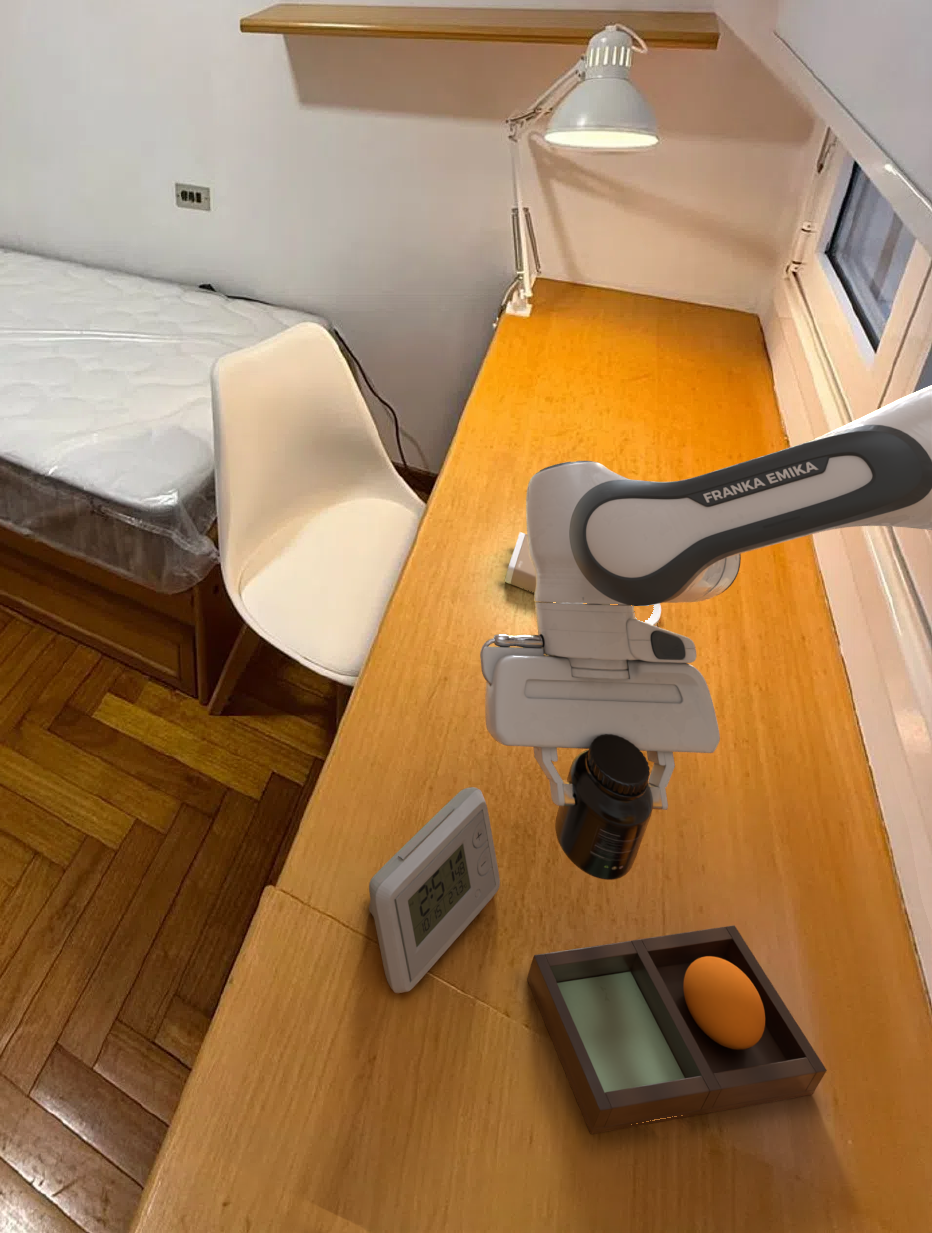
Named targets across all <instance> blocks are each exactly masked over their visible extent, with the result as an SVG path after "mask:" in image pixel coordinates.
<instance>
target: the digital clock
mask: <svg viewBox="0 0 932 1233" xmlns="http://www.w3.org/2000/svg"><path fill="white" fill-rule="evenodd" d="M483 794H484V793H483V792H482V790H481V789H479V788H478V787H474V786H471V787H470V786H469V787H466V788H463V789H461V790H460V791H459V792H457V794H455V795H454V796H453V797H452V798H451V799H450V800H449V801H448V802H447V803H446V804H445V805H444V806H443V807H442V808H441V809H439V811H438V812H437V813H436V814H434V816H432V818H431V819H430V820H429V821H427V822H426V823H425V824H424V825H423V826H422V828H421V829H420V830H418V831H417V832H416V833H415V834H414V835H413V836H412V837H411V838H410V839H409V840H408V841H407V842H406V843H405V844H404V845H403V846H402V847H401V848H400V849H399V850H398V851H397V852H396V853H394V855H393V856H392V857H391V858H390V859H389V860H388V861H387V862H386V863H384V865H382V867H381V868H380V869H378V871H377V872H376V873H375V874H374V875H373V876H372V877H371V879H370V881H369V883H368V892H369V898H370V899H369V906H368V911H369V913H370V914H371V915H372V917H373V919H374V925H375V929H376V934H377V940H378V945H379V949H380V956H381V959H382V965H383V966H382V967H383V971H384V974H385V979H386V981H387V983H388V986H389V987H390V989H391V990H392V991H393V992H394V993H395V994H400V993H402V994H403V993H407V992H410V991H411V990H412V989H414V987H416V986H417V985H418V983H419V982H420V981H421V980H422V979H423V977H424V976H425V975H427V973H428V972H429V971H430V969H431V968H433V966H434V965H435V964H436V963H437V962H438V961H439V959H440V958H441V957H442V956H443V955H444V954H445V953H446V952H447V950H448V949H449V948H450V947H451V946H452V945H453V944H454V942H455V941H456V940H457V939H458V938H459V937H460V935H461V934H462V933H463V932H464V931H465V930H466V928H467V927H469V925H470V924H471V923H472V922H473V920H474V919H475V918H476V917H478V915H479V914H480V913H481V911H482V910H483V909H484V908H485V907H486V906H487V905H488V904H489V902H490V901H491V900H492V899H493V898H494V896H495V895H496V894H497V893H498V891H499V888H500V886H501V878H500V872H499V867H498V860H497V855H496V848H495V843H494V838H493V837H494V836H493V832H492V825H491V820H490V815H489V809H488V805H487V802H486V799H485V797H484V795H483Z"/></svg>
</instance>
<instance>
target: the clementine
mask: <svg viewBox="0 0 932 1233" xmlns="http://www.w3.org/2000/svg"><path fill="white" fill-rule="evenodd" d="M683 988H684V996H685V1000H686V1004H687V1006H688V1009H689V1011H690V1013H691V1015H692V1017H693V1019H694V1020H695V1022H696V1023H697V1025H698V1026H699V1027H700V1028H701V1030H702V1031H703V1032H704V1033H705V1034H706V1035H708V1036H709V1037H710V1038H711V1039H712V1040H714V1041H715V1042H717V1043H718V1044H720V1045H722V1046H724V1047H727V1048H731V1049H736V1050H742V1049H747V1048H750V1047H752V1046H754V1045H755V1044H756V1043H757V1042H758V1041H759V1040H760V1038H761V1037H762V1034H763V1032H764V1028H765V1012H764V1007H763V1003H762V1001H761V998H760V996H759V993H758V991H757V990H756V988H755V986H754V985H753V983H752V982H751V981H750V979H749V978H748V977H747V976H746V975H745V974H744V973H743V972H742V971H741V970H740V969H739V968H738V967H736V966H735V965H733V964H732V963H730V962H728V961H726V960H724V959H721V958H718V957H712V956H707V957H701V958H699V959H697V960H695V961H694V962H693V963H691V965H690V966H689V967H688V969H687V971H686V973H685V977H684V983H683Z"/></svg>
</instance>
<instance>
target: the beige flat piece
mask: <svg viewBox="0 0 932 1233" xmlns="http://www.w3.org/2000/svg"><path fill="white" fill-rule="evenodd" d="M504 582H505V583H507V584H510V585H512V586H515V587H517V588H520V589H522V590H525V591H528V590H529V591H528V592H530V593H532V594H535V589H536V574H535V569H534V566H533V564H532V561H531V559H530V556H529V549H528V538H527V533H525V532H521V531H519V532H518V536H517V539H516V543H515V545H514V548H513V552H512V554H511V557H510V561H509V564H508V567H507V570H506V574H505V579H504ZM523 588H524V589H523ZM531 591H532V592H531ZM533 592H534V593H533ZM552 603H553V602H552ZM556 603H560V602H556ZM653 607H654V608H653V609H654V610H653V612H652V613H653V614H651V616H650V618H648V620H645V622H646V623H649V624H651V625H654V626H655V625H656V624H657V623H658V624H659V621H660V618H661V614H662V606H661V603H659V604H654V606H653ZM658 624H657V625H656V626H657V627H658Z"/></svg>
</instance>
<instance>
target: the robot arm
mask: <svg viewBox="0 0 932 1233" xmlns="http://www.w3.org/2000/svg"><path fill="white" fill-rule="evenodd" d="M525 495H526V497H525V520H526V521H525V522H526V534H527V538H528V549H529V556H530V559H531V561H532V564H533V566H534V569H535V574H536V589H535V593H534V596H533V598H534V600H533V601H534V608H535V616H536V617H535V618H536V627H537V634H518V635H517V634H516V635H512V634H510V635H509V634H507V633H497V634H494V635H493V637H492V638H490V639H488V640H486V641H485V642H484V643H483V644H482V646H481V649H480V651H479V652H480V653H479V657H480V667H481V673H482V677H483V678H484V680H485V693H484V694H485V695H484V714H485V715H484V717H485V727H486V730H487V732H488V733H489V734H490V736H491V737H492V738H493V740H495V741H496V742H498V743H499V744H501V745H504V746H507V747H525V748H526V747H529V748H532V749H533V756H534V759H535V761H536V762H537V764H538V765H539V767H540V769H541V771H542V772H543V774H544V775H545V777H546V778H547V780H548V781H549V788H550V797H551V800H552V803H553V804H555V805H556V806H558V807H559V806H575V798H574V797H573V794H574V789H573V784H572V783H570V782H568V781H566V780H567V779H562V777H561V775H560V774H559V771H558V770H557V769H556V767H555V765H554V763H553V762H555V763H556V762H558V761H559V756H558V749H580V750H581V749H582V750H583V749H585V750H589V748H590V745H591V743H592V742H593V740H594V739H595V738H597V736H600V735H605V734H608V735H609V734H612V735H617V736H619V737H623V738H624V739H626V740H628V741H629V742H631V743H633V744H634V745H635V746H636V747H637V748H638V749H639V750H640V751H641V752H646V758H647V761H650V762H651V763H653V765H652V769H651V771H650V775H649V779H648V784H649V787H650V789H651V792H652V796H653V810H657V811H659V810H663V811H668V809H669V803H668V798H667V797H668V796H667V789H666V788H667V787H668V785H669V782H670V780H671V777H672V775H673V772H674V769H675V766H676V765H675V764H676V763H675V758H674V753H689V754H690V753H691V754H692V753H694V754H695V753H696V754H714V753H715V751H717V750H716V749H717V748H718V746H719V743H720V739H721V736H720V729H719V723H718V719H717V714H716V711H715V706H714V702H713V698H712V695H711V692H710V689H709V685H708V683H707V681H706V678H705V676H704V675H703V674H702V673H701V671H700V670H699V669H698V668H697V667H695V666H694V665H692V664H691V663H694V662H695V661H696V659H697V649H696V644H695V642H694V641H693V640H692V639H691V638H690V637H688V636H685V635H682V634H681V633H680V634H679V633H677V632H675V631H671V630H668V629H665V628H663V627H659V626H658V625H657V626H654V625H651V624H649V623H646V622H643V621H640V620H637V618H636V617H635V613H634V612H635V611H634V606H649V605H654V604H659V603H660V604H678V603H679V604H680V603H682V604H683V603H685V604H687V603H688V604H690V603H691V604H693V603H700V602H705V601H708V600H710V599H713V598H715V597H717V596H719V595H721V594H722V593H724V592H725V591H727V590H728V589H729V588H730V587H731V586H732V585H733V583H734V582H735V580H736V579H737V577H738V574H739V571H740V568H741V563H742V562H741V560H742V559H741V558H742V554H744V553H745V554H746V553H748V552H752V551H756V550H760V549H763V548H767V547H770V546H775V545H778V544H782V543H785V542H789V541H793V540H797V539H799V538H803V537H808V536H811V535H815V534H818V533H823V532H827V531H831V530H839V529H847V528H856V527H857V528H858V527H892V528H893V527H894V528H906V529H907V528H908V529H917V530H928V531H932V385H929V386H927V387H924V388H922V389H920V390H917V391H915V392H912V393H909V394H908V395H906V396H903V397H901V398H899V399H897V400H894V401H893V402H891V403H889V404H886V405H885V406H883V407H881V408H879V409H876V410H874V411H872V412H870V413H867V414H866V415H864V416H862V417H860V418H858V419H855V420H853V421H851V422H849V423H846V424H845V425H842V426H840V427H838V428H835V429H834V430H830V431H829V432H827V433H824V434H822V435H820V436H818V437H816V438H814V439H811V440H809V441H805V442H802V443H798V444H796V445H794V446H793V445H792V446H790V447H787V448H784V449H780V450H778V451H775V452H771V453H768V454H765V455H762V456H758V457H756V458H752V459H749V460H745V461H742V462H739V463H736V464H733V465H730V466H729V465H728V466H726V467H723V468H720V469H716V470H714V471H710V472H707V473H705V474H700V475H697V476H693V477H690V478H686V479H680V480H675V481H653V480H652V481H651V480H640V479H630V478H627V477H625V476H623V475H622V474H621V475H620V474H619V473H616V472H615V471H612V470H611V469H609V468H608V467H606V466H605V465H604V464H602V463H600V462H598V461H593V460H577V461H564V462H561V463H555V464H552V465H549V466H546V467H544V468H542V469H540V470H539V471H537V472H536V473H534V474H533V475H532V476H531V477H530V479H529V481H528V484H527V488H526V494H525ZM552 602H560V603H552ZM583 603H587V604H583ZM610 604H618V605H610ZM631 605H632V606H631ZM492 644H494V645H495V646H491V645H492Z"/></svg>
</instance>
